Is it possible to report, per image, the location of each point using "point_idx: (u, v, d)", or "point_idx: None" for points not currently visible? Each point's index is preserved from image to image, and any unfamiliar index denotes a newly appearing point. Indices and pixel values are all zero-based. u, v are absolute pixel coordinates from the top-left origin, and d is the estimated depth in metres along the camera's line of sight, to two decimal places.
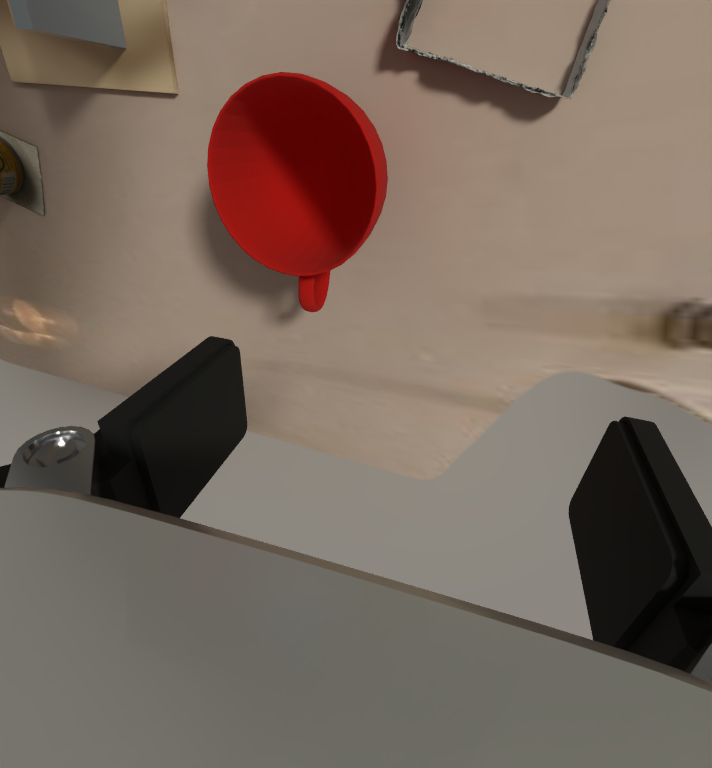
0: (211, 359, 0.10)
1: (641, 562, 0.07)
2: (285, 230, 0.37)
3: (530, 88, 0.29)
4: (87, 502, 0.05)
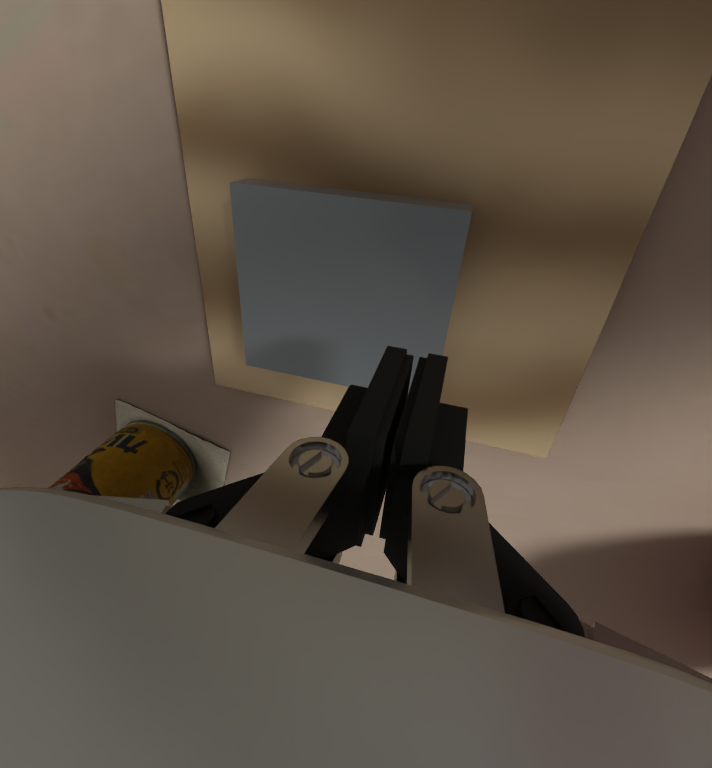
0: (402, 369, 0.10)
1: None
2: None
3: None
4: (87, 502, 0.05)
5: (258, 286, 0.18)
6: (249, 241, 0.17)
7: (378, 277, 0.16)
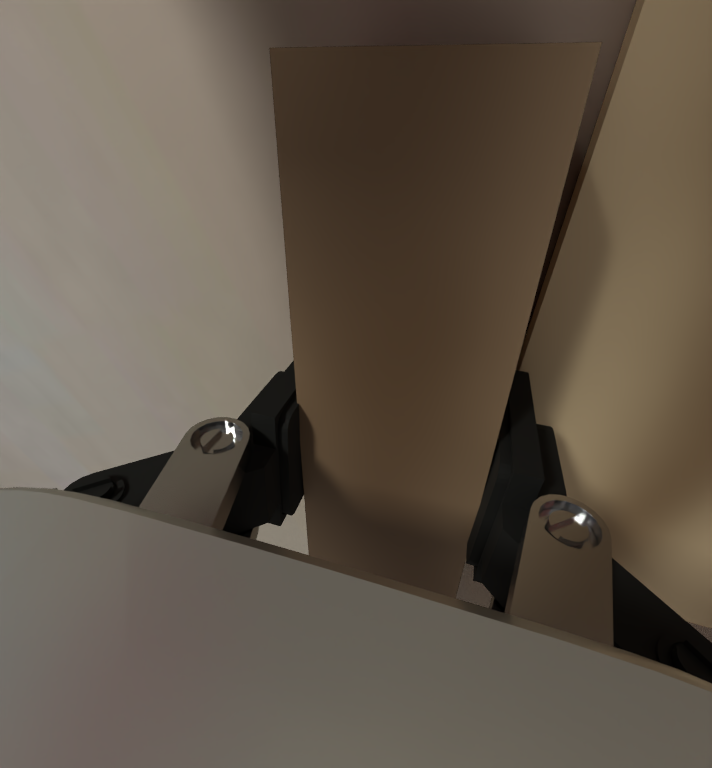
0: None
1: (489, 476, 0.08)
2: None
3: None
4: (87, 502, 0.05)
5: None
6: None
7: None
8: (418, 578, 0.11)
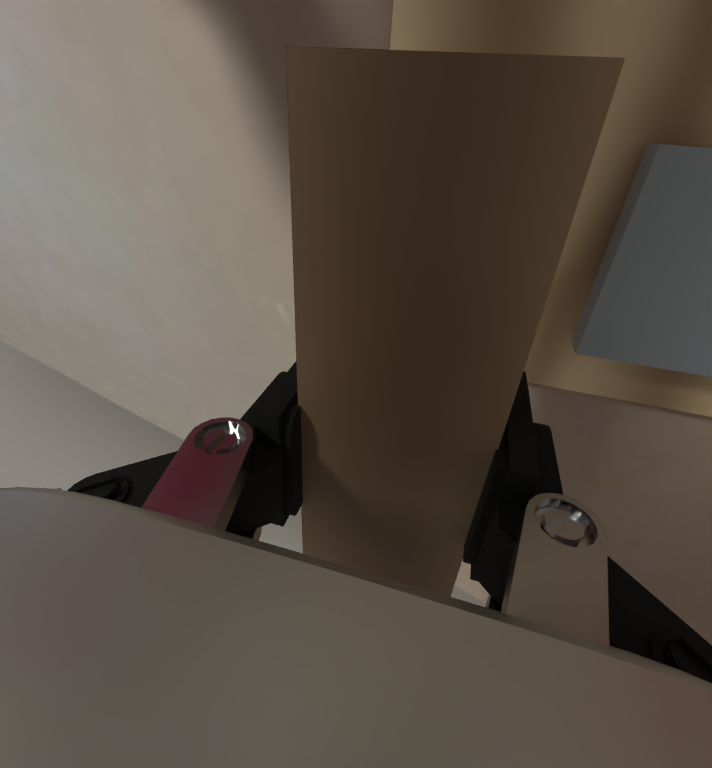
0: None
1: None
2: None
3: None
4: (87, 502, 0.05)
5: (672, 351, 0.19)
6: (626, 349, 0.20)
7: (700, 234, 0.17)
8: (411, 582, 0.11)
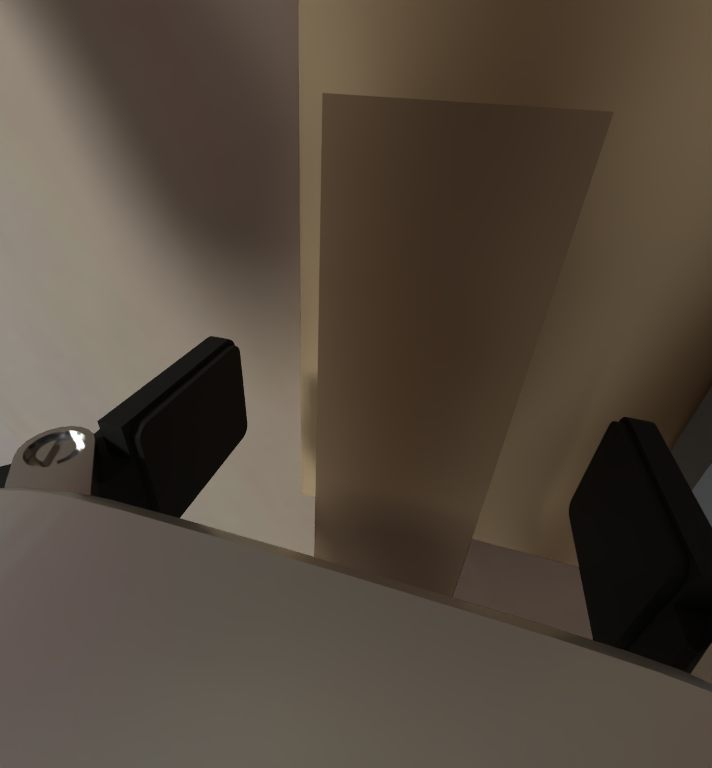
0: (211, 359, 0.10)
1: (641, 562, 0.07)
2: None
3: None
4: (87, 502, 0.05)
5: None
6: None
7: None
8: (418, 577, 0.11)
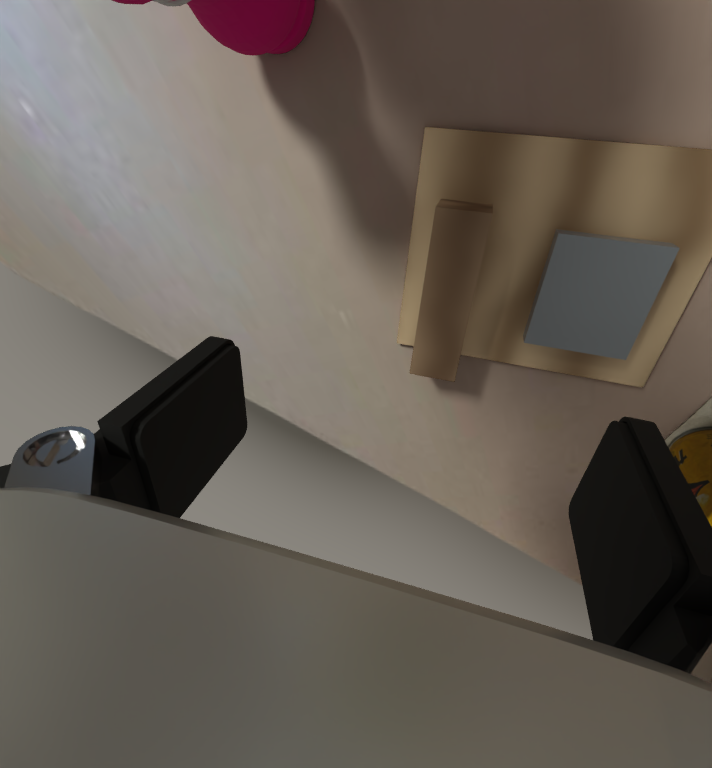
0: (211, 359, 0.10)
1: (641, 562, 0.07)
2: None
3: None
4: (87, 502, 0.05)
5: (576, 341, 0.34)
6: (552, 340, 0.35)
7: (583, 278, 0.32)
8: (449, 346, 0.35)
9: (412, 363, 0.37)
